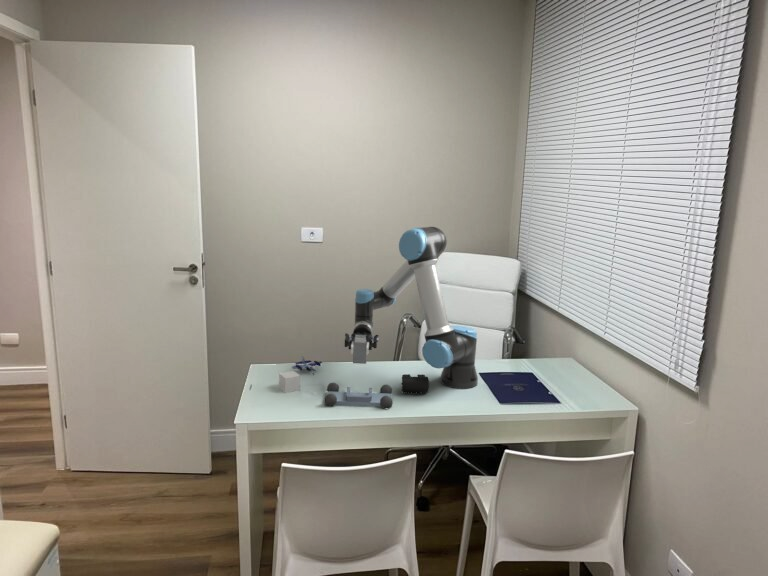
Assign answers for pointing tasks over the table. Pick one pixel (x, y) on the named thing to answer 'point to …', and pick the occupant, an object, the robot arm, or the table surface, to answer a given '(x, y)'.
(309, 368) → the toy airplane
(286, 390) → the light grey cube
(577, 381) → the table surface
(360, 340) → the capped grey pillar
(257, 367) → the table surface
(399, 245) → the robot arm
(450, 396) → the table surface
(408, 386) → the black arched housing
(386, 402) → the chassis
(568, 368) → the table surface
